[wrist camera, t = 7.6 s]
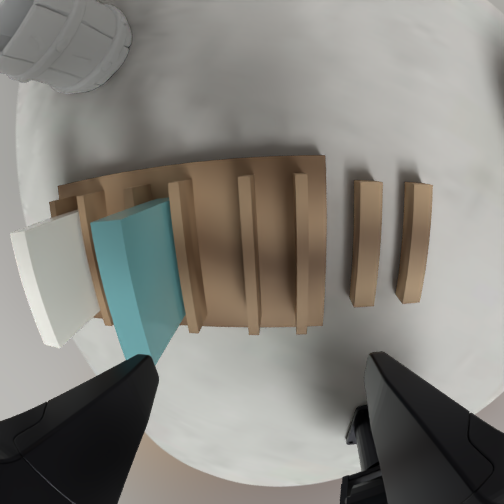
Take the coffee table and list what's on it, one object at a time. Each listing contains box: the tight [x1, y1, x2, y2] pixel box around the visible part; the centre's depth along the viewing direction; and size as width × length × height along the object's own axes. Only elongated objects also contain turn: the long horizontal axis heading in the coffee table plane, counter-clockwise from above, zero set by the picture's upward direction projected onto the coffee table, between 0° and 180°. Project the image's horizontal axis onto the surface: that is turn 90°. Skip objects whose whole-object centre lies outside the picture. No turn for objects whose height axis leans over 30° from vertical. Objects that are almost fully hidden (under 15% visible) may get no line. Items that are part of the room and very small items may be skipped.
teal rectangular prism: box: [90, 197, 186, 365], centre depth 14 cm, size 7×2×7 cm, turn 4°
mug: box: [0, 0, 132, 94], centre depth 8 cm, size 8×12×12 cm, turn 171°
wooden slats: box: [349, 180, 433, 307], centre depth 17 cm, size 8×5×2 cm, turn 3°
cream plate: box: [10, 209, 100, 348], centre depth 15 cm, size 7×2×7 cm, turn 3°
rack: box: [49, 155, 327, 335], centre depth 17 cm, size 11×19×4 cm, turn 93°
